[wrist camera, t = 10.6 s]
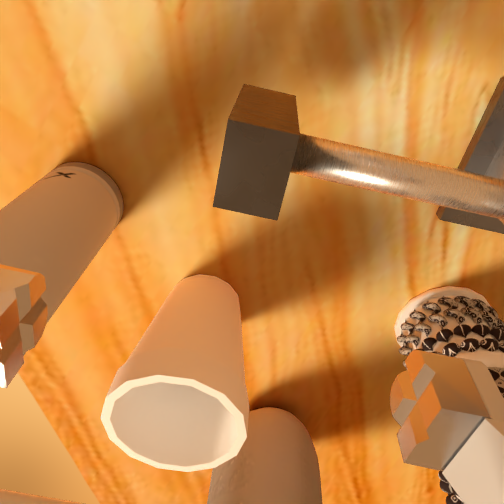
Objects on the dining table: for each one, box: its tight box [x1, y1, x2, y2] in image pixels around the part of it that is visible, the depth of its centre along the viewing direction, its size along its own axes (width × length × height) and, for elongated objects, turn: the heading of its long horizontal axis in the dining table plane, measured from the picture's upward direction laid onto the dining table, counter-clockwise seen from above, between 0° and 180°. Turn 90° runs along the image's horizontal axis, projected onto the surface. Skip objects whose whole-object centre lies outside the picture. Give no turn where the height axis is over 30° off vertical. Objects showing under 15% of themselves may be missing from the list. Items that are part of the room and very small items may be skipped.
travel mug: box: [0, 162, 124, 356], centre depth 26 cm, size 6×7×20 cm
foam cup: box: [101, 274, 249, 472], centre depth 33 cm, size 10×9×13 cm
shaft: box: [213, 84, 504, 220], centre depth 23 cm, size 4×19×8 cm, turn 78°
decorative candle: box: [394, 286, 504, 504], centre depth 28 cm, size 9×9×25 cm
